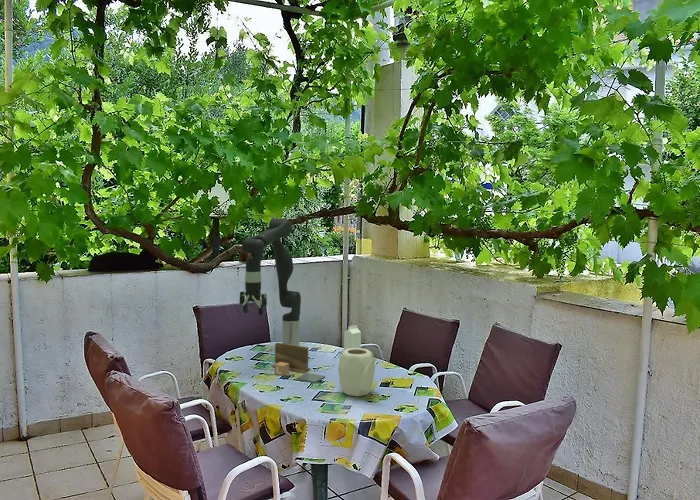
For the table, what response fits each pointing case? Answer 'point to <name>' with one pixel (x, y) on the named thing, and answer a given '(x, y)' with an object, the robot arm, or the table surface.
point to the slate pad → (310, 378)
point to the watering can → (356, 371)
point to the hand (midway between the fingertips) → (253, 314)
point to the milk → (352, 337)
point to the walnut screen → (292, 356)
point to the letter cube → (281, 368)
